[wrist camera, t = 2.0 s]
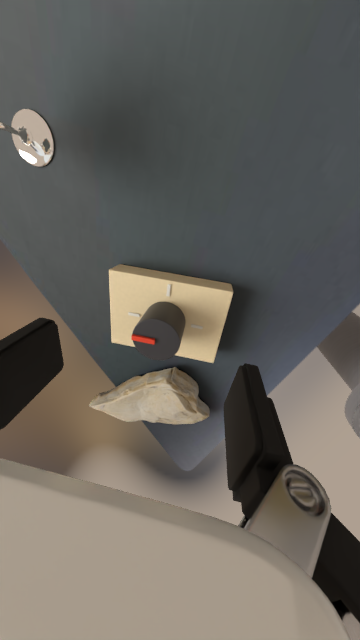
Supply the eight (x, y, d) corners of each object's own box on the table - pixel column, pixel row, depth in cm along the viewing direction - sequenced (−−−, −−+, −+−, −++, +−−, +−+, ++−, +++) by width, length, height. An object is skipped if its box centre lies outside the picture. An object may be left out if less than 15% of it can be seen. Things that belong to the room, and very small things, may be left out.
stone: (96, 409, 37) (82, 433, 32) (85, 354, 33) (67, 372, 28) (208, 417, 35) (209, 443, 31) (212, 360, 31) (214, 381, 26)
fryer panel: (231, 283, 24) (233, 292, 21) (213, 349, 28) (213, 364, 26) (119, 263, 24) (107, 269, 22) (120, 331, 29) (110, 343, 26)
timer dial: (188, 305, 22) (183, 326, 18) (182, 341, 25) (176, 366, 21) (146, 297, 23) (131, 315, 18) (144, 333, 25) (130, 357, 21)
